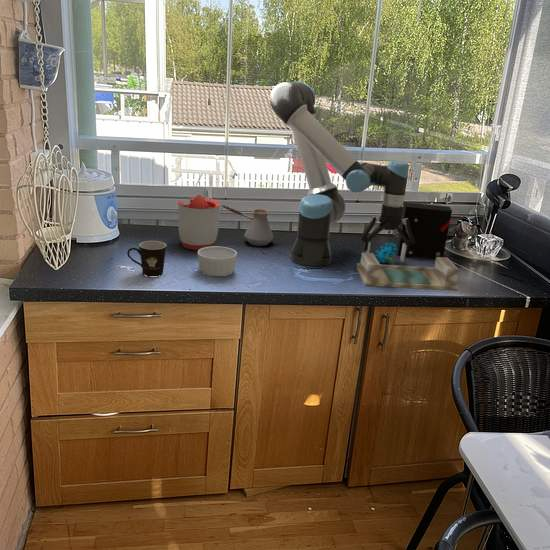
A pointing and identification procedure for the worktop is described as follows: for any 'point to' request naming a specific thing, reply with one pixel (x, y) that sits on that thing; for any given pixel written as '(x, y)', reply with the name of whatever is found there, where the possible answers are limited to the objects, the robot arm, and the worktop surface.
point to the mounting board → (408, 274)
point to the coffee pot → (256, 227)
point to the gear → (386, 253)
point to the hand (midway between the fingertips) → (384, 259)
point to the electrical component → (425, 229)
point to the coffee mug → (151, 257)
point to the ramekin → (217, 260)
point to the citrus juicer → (198, 222)
